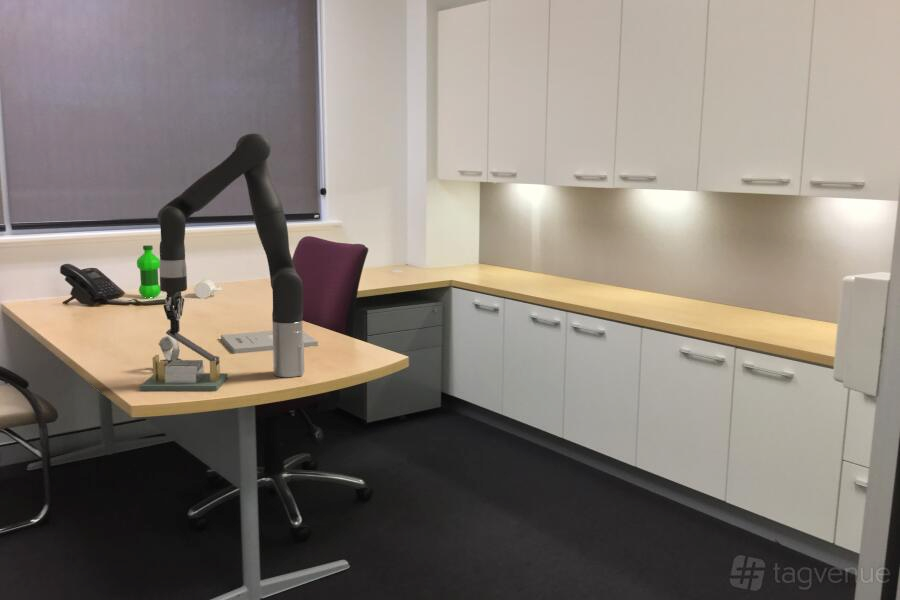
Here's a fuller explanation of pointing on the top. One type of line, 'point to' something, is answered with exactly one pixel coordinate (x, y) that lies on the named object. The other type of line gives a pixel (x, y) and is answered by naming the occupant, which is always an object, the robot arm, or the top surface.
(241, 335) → the award plaque
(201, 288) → the mug
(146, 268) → the plastic bottle
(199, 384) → the board
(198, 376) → the heat sink
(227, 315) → the top surface
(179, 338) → the strap
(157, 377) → the clip posts
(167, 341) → the watch
